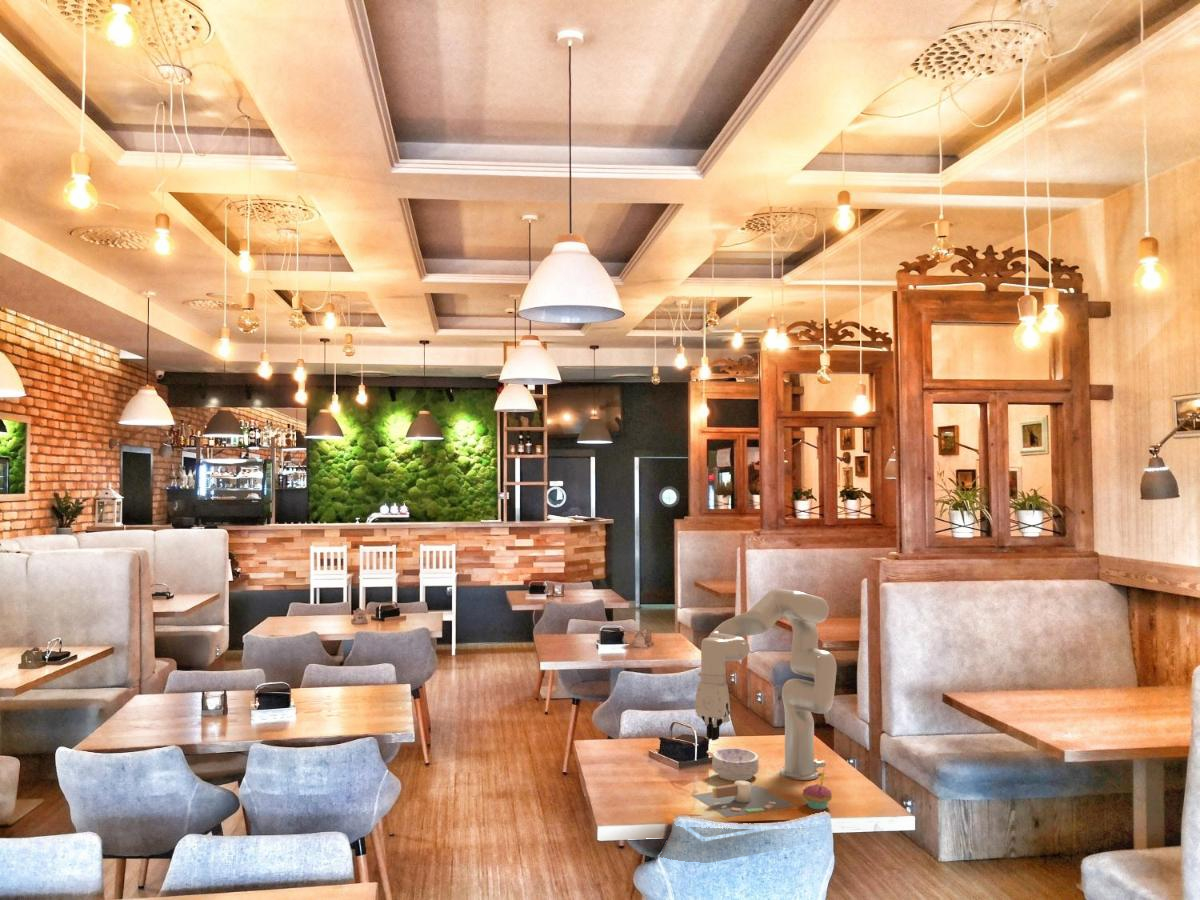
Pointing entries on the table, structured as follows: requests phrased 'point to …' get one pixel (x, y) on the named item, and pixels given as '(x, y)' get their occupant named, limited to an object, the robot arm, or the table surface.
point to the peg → (734, 791)
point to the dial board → (758, 803)
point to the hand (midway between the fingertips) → (712, 738)
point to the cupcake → (817, 795)
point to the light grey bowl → (735, 764)
